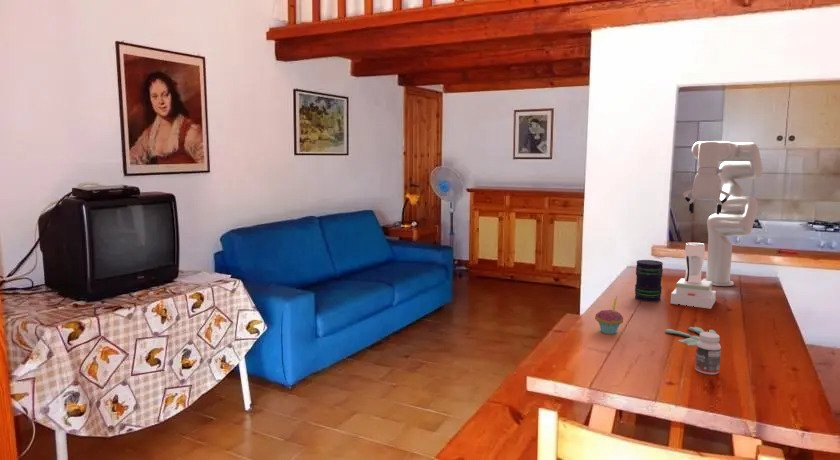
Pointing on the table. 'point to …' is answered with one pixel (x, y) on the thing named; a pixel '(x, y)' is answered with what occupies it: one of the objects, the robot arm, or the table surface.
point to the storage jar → (648, 280)
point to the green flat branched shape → (690, 339)
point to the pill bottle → (708, 353)
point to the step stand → (694, 294)
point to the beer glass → (694, 261)
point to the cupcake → (609, 320)
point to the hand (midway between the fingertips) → (704, 213)
